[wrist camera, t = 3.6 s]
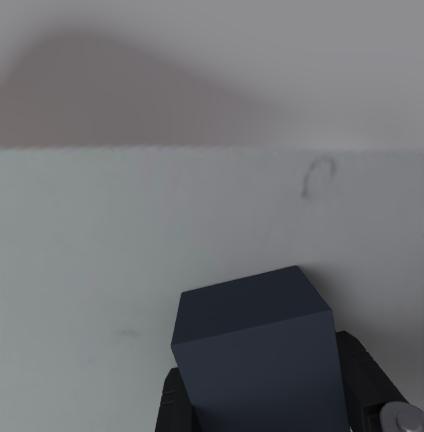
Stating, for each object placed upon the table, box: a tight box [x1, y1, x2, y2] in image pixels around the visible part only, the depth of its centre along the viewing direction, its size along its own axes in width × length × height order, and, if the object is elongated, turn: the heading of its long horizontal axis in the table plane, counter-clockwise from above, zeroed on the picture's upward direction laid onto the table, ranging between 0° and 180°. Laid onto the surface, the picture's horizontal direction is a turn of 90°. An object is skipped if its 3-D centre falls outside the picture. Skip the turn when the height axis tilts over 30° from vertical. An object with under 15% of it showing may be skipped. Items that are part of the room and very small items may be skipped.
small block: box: [171, 266, 351, 432], centre depth 10 cm, size 7×5×3 cm
